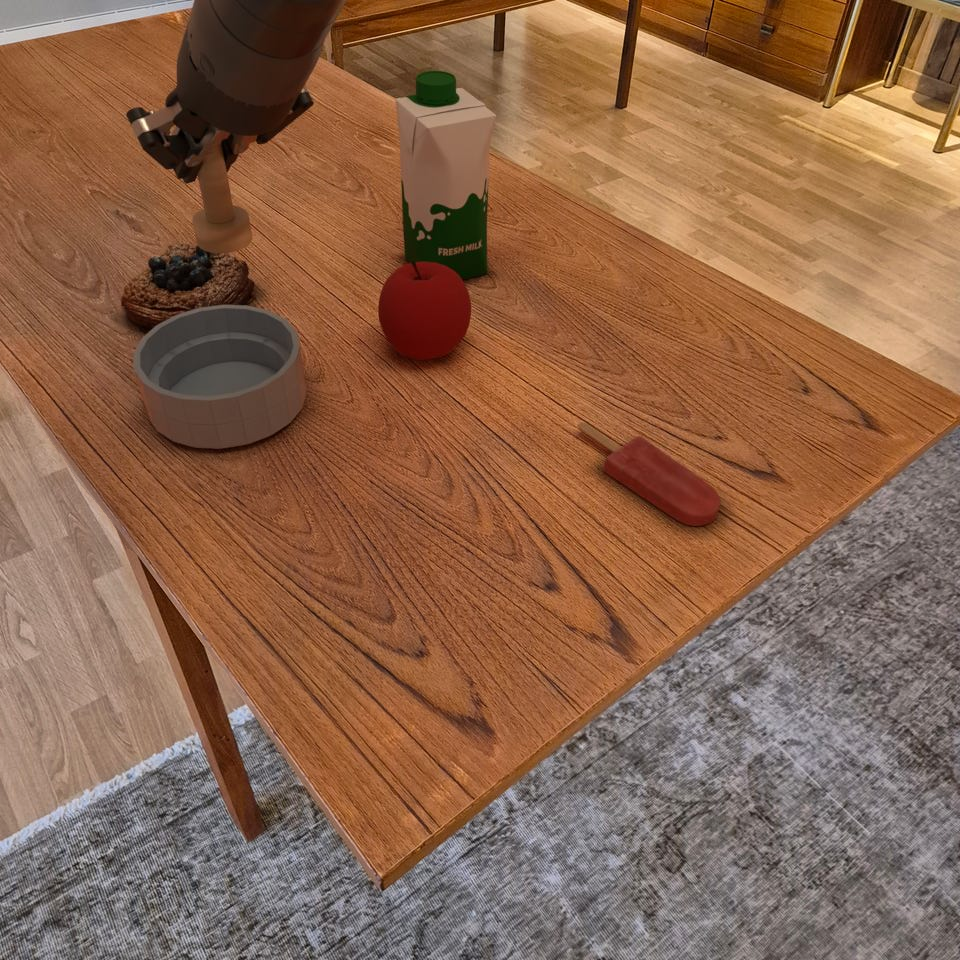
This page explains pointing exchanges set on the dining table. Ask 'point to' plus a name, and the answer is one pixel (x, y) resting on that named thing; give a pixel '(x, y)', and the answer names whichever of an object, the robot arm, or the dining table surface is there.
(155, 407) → the bowl
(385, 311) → the apple
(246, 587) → the dining table surface
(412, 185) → the milk carton
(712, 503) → the popsicle
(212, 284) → the pastry
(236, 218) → the peg on round base
